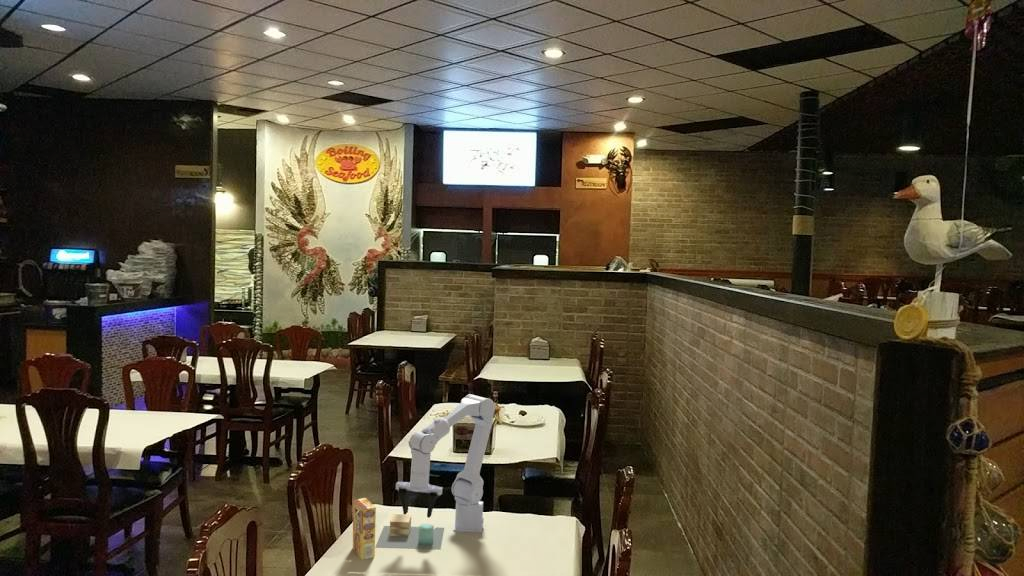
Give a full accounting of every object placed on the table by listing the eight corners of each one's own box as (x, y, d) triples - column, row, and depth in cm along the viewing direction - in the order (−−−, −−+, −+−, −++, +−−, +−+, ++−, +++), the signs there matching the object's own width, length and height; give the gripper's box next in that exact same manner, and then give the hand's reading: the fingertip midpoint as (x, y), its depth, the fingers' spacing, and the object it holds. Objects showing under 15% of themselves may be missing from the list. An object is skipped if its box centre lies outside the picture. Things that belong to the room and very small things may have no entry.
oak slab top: (411, 521, 209) (411, 514, 209) (408, 529, 203) (408, 522, 203) (392, 521, 209) (393, 514, 209) (389, 528, 203) (390, 521, 203)
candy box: (375, 557, 189) (377, 507, 188) (361, 561, 186) (363, 509, 186) (364, 546, 196) (366, 497, 195) (351, 549, 194) (352, 499, 193)
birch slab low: (410, 528, 209) (411, 521, 209) (408, 536, 203) (408, 529, 203) (392, 528, 209) (392, 521, 209) (389, 535, 203) (389, 528, 203)
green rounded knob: (433, 539, 202) (434, 523, 202) (432, 545, 197) (433, 530, 197) (419, 539, 202) (419, 523, 202) (417, 545, 197) (418, 529, 197)
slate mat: (444, 528, 211) (444, 527, 211) (440, 550, 195) (440, 549, 195) (384, 526, 211) (384, 525, 211) (375, 548, 195) (375, 547, 195)
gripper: (393, 472, 194) (390, 516, 195) (438, 477, 192) (436, 522, 192) (401, 465, 201) (398, 508, 201) (445, 471, 199) (442, 514, 199)
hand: (417, 514), depth 197 cm, fingers open, 7 cm apart
